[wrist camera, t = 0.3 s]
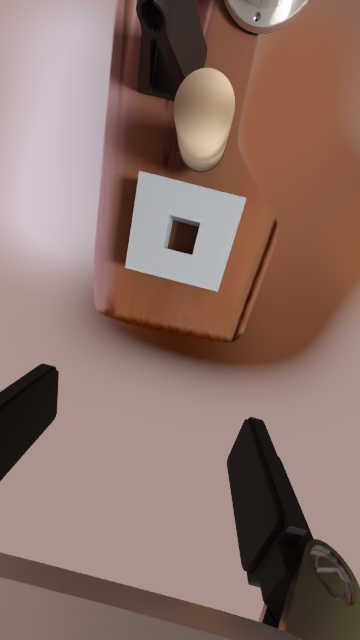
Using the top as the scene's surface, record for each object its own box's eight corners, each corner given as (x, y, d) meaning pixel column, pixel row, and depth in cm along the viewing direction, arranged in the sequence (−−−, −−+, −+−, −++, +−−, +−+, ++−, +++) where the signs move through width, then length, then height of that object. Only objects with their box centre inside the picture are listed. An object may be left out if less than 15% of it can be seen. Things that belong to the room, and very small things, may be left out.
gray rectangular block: (146, 181, 33) (139, 170, 28) (239, 205, 33) (246, 198, 28) (133, 266, 37) (124, 267, 33) (215, 287, 37) (217, 291, 33)
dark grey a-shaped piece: (137, 92, 29) (100, -13, 18) (144, 36, 27) (108, -120, 16) (196, 107, 29) (195, 11, 18) (207, 52, 27) (215, -93, 16)
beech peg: (186, 128, 30) (181, 59, 20) (227, 138, 30) (244, 75, 20) (176, 177, 32) (167, 138, 22) (215, 186, 32) (224, 153, 22)
